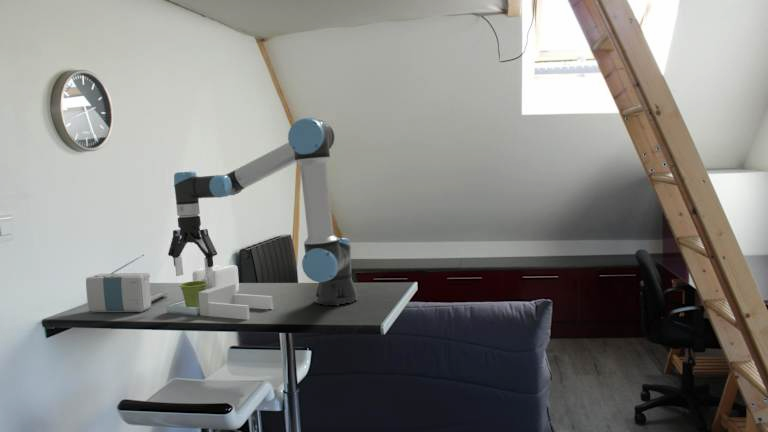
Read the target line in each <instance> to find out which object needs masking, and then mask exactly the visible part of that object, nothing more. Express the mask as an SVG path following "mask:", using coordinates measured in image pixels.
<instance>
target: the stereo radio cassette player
mask: <svg viewBox="0 0 768 432" xmlns="http://www.w3.org/2000/svg"><path fill="white" fill-rule="evenodd" d="M144 256H145V254H142V255H140V256H139V257H137V258H135V259H133V260H132V261H129V262H128V263H126V264H124V265H122V266H121V267H119V268H117V269H116V270H114V271H112V272H111V273H98V274H94V275H92V276H88V277H86V278H85V289H86V299H87V301H86V302H87V307H88V311H90V312H91V313H94V314H95V313H143V312H145V311H147V310H148V309H150V307H151V306H152V297H151V286H150V277H151V276H150V273H149V272H130V273H129V272H128V273H127V272H126V273H124V272H123V273H121V272H120V273H119V272H118V271H120V270H122V269H124V268H126V267H127V266H129V265H130V264H132V263H134V262H135V261H136V260H138V259H140V258H141V257H144Z"/></svg>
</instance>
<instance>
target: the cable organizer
mask: <svg viewBox="0 0 768 432" xmlns="http://www.w3.org/2000/svg"><path fill="white" fill-rule="evenodd" d="M212 271H213V276H209V277H206V272H205V267H201V268H198V269H195V270H193V272H192V276H191V277H192V281H206V282H207V284H206V289H205V290H207V289H210V288H214V287H217V286H220V285H223V284H235V286H236V294H238V292H239V290H240V284H239V283H240V282H239V281H240V280H239V269H238V266H237V265H236V264H231V265H228V266H227V265H226V266H224V267H221V265H219V264H213V266H212Z"/></svg>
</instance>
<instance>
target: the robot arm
mask: <svg viewBox="0 0 768 432" xmlns="http://www.w3.org/2000/svg"><path fill="white" fill-rule="evenodd" d="M287 135H288V136H287V140H288V142H286V143H284V144H283V145H281V146H278V147H277V148H275V149H272V150H270V151H269V152H266V153H265V154H263V155H261V156H259V157H257V158H256V159H253V160H252V161H250V162H247V163H246V164H244V165H242V166H240V167H238V168H235V170H232V171H231V172H228V173H226V174H217V175H208V176H207V175H206V176H205V175H204V176H197V172H196V171H180V172H175V173H174V175H173V182H174V183H173V187H174V193H175V201H176V202H175V203H176V205H175V206H176V213H177V214H176V215H177V216H178V218H177V224H178V225H177V226H178V228H179V229H174V230H173V231H172V238H171V243H170V246H169V250H168V254H167V255H168V256H169V257H172V258H173V266H174V267H175V268H174V269H175V276H176V277H180V276H183V275H184V268H183V257H182V256H181V255H182V252H183V250H184V249H185V248H186V245H187V244H188V243H191V244H192V243H194V244H195V245H197V247H198V248H199V250H200V251H201V253H202V254H203V255H204V256H205V257H204V259H203V260H204V268H205V272H206V277H209V276H213V271H212V266H213V265H214V258H213V257H216V256H217V255H218V252H217V249H216V248H215V245H214V244H213V242H212V240H211V237H210V236H209V235H210V234H209V231H208V229H207V228H204V229H201V228H200V227H201V225H202V223H201V216H200V214H201V213H200V212H201V211H200V204H199V199H208V198H209V199H210V198H211V199H213V198H225V197H229V196H235V195H237V194H239V193H241V192H242V191H243V190H244V189H246V188H248V187H250V186H252V185H253V184H254V185H255V184H256V183H258V182H260V181H263V180H264V179H265V178H268V177H270V176H272V175H274V174H275V173H278V172H280V171H282V170H284V169H286V168H288V167H290V166H292V165H294V164H298V165H299V167H300V176H301V184H302V193H303V204H304V214H305V223H306V231H307V238H306V239H305V240H304V242H303V247H304V256H303V257H302V261H301V266H302V270H303V273H304V275H306V277H307V278H309V280H311V281H313V282H316V283H317V289H316V292H315V297H314V298H315V303H316V304H317V303H318V304H317V305H320V304H323V305H322V306H328V305H335V306H338V305H337V304H345V303H350V302H353V301H355V300H357V301H358V292H357V290H356V287H355V283H354V282H353V280H352V260H351V258H352V257H351V247H352V246H351V243H350V239H349V238H347V237H337V236H336V235H335V234H334V227H333V217H332V208H331V198H330V190H329V179H328V171H327V162H328V161H329V160H330V159H331V155H330V154H331V153H330V149H332V147H333V145H334V144H335V132H334V130H333V127H332V126H331V125H330V124H329V123H328V122H326V121H324V120H321V119H316V118H314V117H305V118H303V117H302V118H301V119H300V118H299V119H298V120H295V122H294V123H293V124H292V125H291V127H290V128H289V130H288V134H287ZM355 302H356V301H355ZM353 303H354V302H353ZM350 304H351V303H350ZM345 305H346V304H345Z"/></svg>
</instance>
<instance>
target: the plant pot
mask: <svg viewBox="0 0 768 432" xmlns="http://www.w3.org/2000/svg"><path fill="white" fill-rule="evenodd" d="M206 284H207V282H206V281H193V280H192V281H186V282H183V283H180V284H179V287H180V289H181V291H182V296H183V301H184V300H185V305H186V307H195V308H197V307H199V293H198V292H201V291H204V290H205V289H206Z"/></svg>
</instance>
